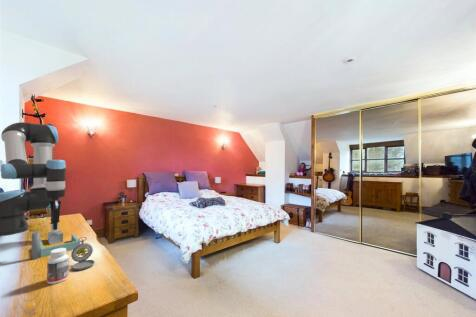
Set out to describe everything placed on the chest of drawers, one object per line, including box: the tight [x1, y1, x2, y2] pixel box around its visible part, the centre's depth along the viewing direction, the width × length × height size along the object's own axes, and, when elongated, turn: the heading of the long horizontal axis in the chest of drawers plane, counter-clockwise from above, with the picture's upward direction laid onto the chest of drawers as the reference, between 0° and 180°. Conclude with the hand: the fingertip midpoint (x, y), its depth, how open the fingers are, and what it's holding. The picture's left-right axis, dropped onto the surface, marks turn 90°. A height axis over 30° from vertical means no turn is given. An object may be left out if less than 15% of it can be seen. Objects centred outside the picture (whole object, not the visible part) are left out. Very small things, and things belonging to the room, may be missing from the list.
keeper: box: [31, 230, 81, 260], centre depth 94 cm, size 15×16×10 cm
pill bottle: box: [46, 248, 70, 285], centre depth 68 cm, size 5×5×10 cm
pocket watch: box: [70, 236, 95, 271], centre depth 78 cm, size 8×8×10 cm
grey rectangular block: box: [47, 230, 64, 245], centre depth 103 cm, size 7×5×4 cm
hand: (54, 235), depth 106 cm, fingers closed
